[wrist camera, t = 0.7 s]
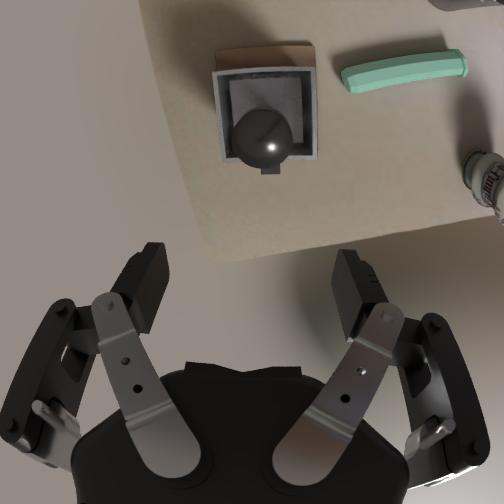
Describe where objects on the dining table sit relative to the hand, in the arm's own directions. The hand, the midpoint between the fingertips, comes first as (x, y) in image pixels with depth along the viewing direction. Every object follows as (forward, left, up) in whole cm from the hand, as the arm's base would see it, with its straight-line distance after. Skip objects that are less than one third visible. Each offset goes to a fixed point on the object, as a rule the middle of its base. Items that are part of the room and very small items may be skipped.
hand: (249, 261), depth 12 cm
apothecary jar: (+6, +46, -38) cm, 61 cm away
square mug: (-2, 0, -37) cm, 37 cm away
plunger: (-4, 0, -25) cm, 25 cm away
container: (-12, +24, -39) cm, 47 cm away
